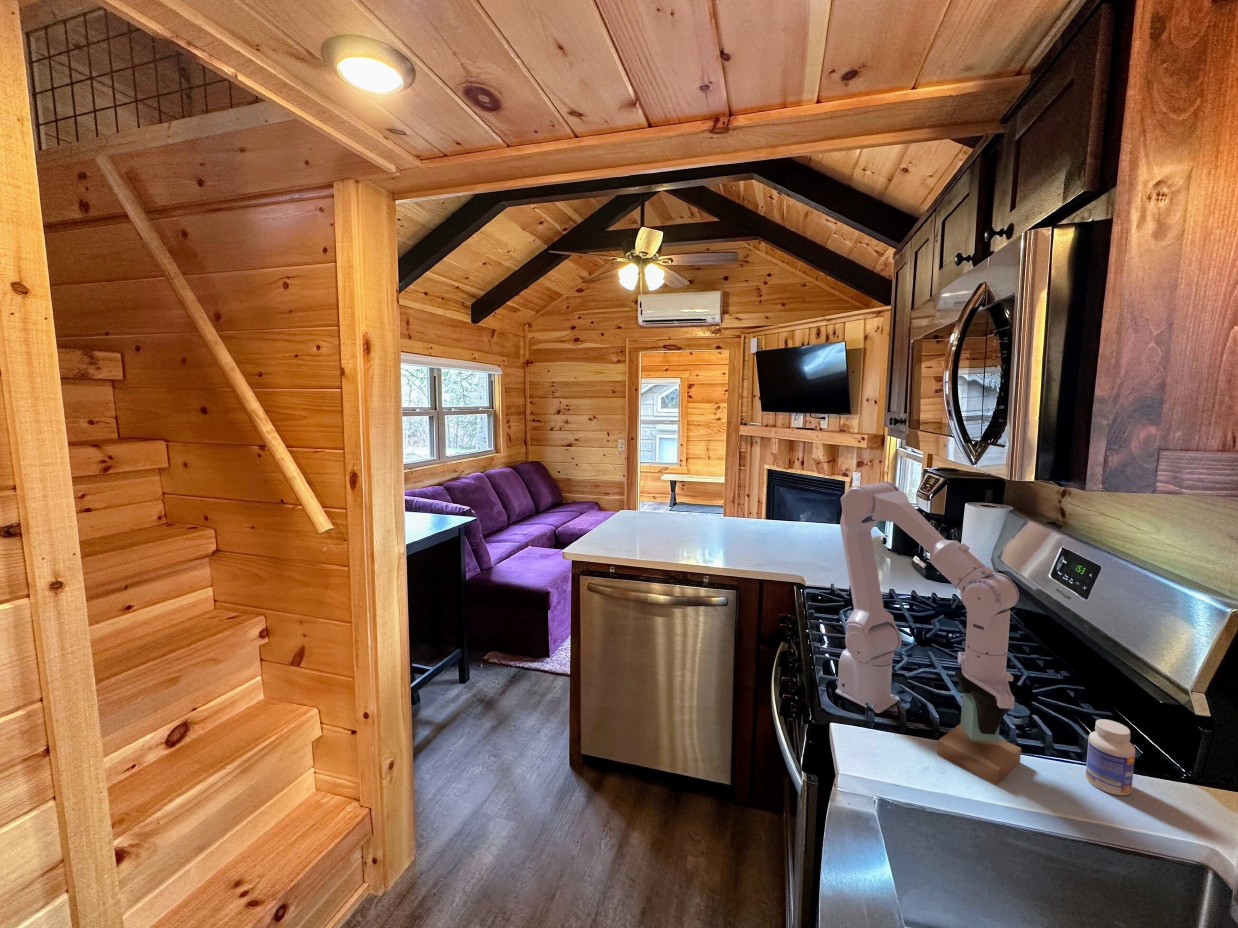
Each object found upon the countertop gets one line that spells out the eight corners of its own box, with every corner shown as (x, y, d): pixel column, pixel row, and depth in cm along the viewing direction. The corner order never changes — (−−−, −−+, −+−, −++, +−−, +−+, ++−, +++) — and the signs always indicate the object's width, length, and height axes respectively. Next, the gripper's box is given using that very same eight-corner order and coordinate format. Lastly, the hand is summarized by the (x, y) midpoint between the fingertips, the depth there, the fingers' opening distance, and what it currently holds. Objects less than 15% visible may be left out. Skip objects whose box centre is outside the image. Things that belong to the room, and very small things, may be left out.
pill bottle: (1133, 801, 80) (1140, 742, 79) (1086, 786, 84) (1092, 729, 82) (1128, 780, 85) (1134, 723, 83) (1083, 767, 88) (1088, 712, 87)
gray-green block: (971, 739, 88) (973, 705, 88) (960, 725, 92) (962, 692, 92) (998, 742, 88) (1000, 707, 87) (986, 727, 92) (988, 694, 91)
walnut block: (936, 756, 92) (937, 740, 91) (961, 737, 97) (962, 721, 97) (996, 787, 84) (998, 769, 84) (1019, 764, 90) (1021, 747, 89)
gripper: (1039, 671, 80) (1032, 754, 82) (990, 629, 94) (985, 701, 96) (987, 668, 82) (981, 750, 83) (947, 627, 96) (942, 698, 97)
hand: (980, 724), depth 90 cm, fingers closed on gray-green block, 4 cm apart
